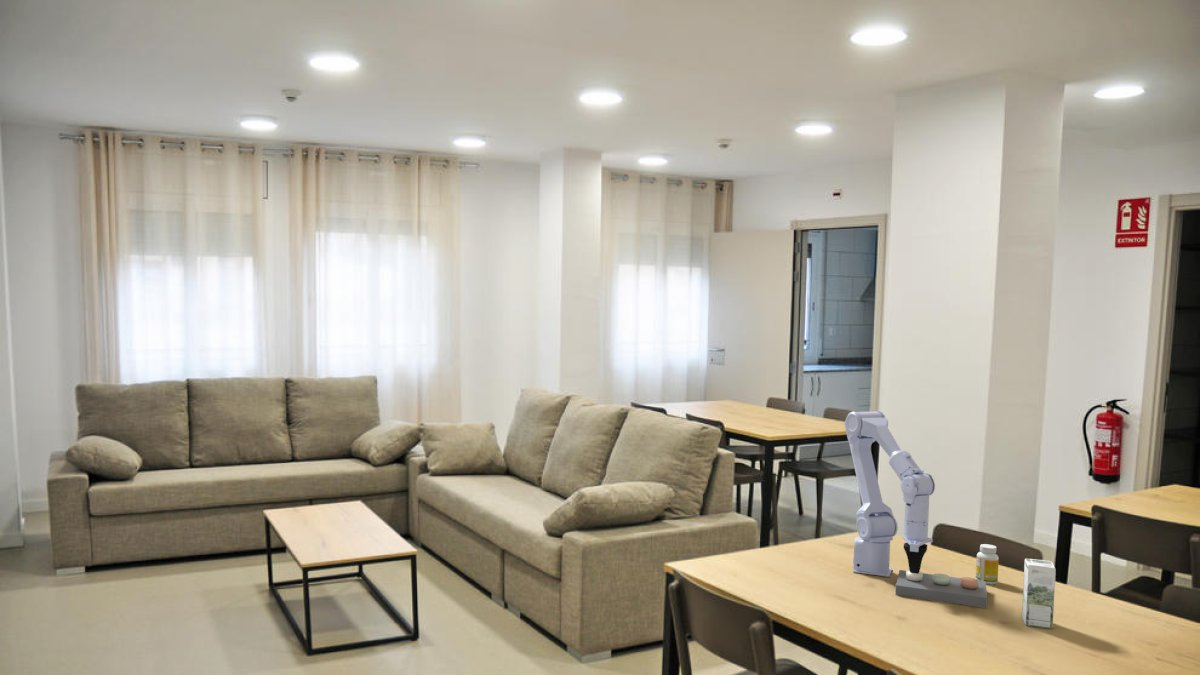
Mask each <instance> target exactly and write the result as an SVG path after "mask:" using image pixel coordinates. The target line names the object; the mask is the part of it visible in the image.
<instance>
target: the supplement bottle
mask: <svg viewBox="0 0 1200 675" xmlns="http://www.w3.org/2000/svg"><path fill="white" fill-rule="evenodd" d="M996 553H997V546H996V545H993V544H987V543H983V544H982V543H981V544H980V546H979V551H978V552H977V554H976V564H975V579H976V580H978V581H985V582H986V585H996V584H998V582H999V581H998V580H999V561H1000V560H999V559H1000V558H999V555H998V554H996Z"/></svg>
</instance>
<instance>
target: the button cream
mask: <svg viewBox="0 0 1200 675" xmlns="http://www.w3.org/2000/svg"><path fill="white" fill-rule="evenodd" d="M905 571H906V578H907V579H909V580H910V581H915V582H918V581H922V579H923V573H924V572H922V571H919V574H917V573H910V570H909V569H907V570H905Z"/></svg>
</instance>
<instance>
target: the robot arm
mask: <svg viewBox="0 0 1200 675" xmlns="http://www.w3.org/2000/svg"><path fill="white" fill-rule="evenodd" d="M843 423H844V429H845V432H846V437H847V441H848V444H849V449H850V452H851V458H852V461H853V466H854V472H855V476H856V480H857V485H858V490H859V494H860V499H861V503H862V505H861V507H860V508H859V509H858V510H857V511H856V513H855V516H856V526H855V527H856V531H857V534H858V536H856V537H855V538H854V545H853V546H854V547H853V557H852V558H853V560H852V561H853V562H852V563H853V567H852V568H853V569H852V572H853V573H859V574H865V575H871V576H872V575H873V576H880V577H887V578H890V576H891V573H892V567H891V566H890V559H891V541H893V538H894V537H895V536H896V535H897V532H898V528H899V527H898V522H897V519H896V518H895V516H894V514H893V510H892V508H891V507H889V506H888V505H887V504H886V503H884V501H883V498H882V494H881V490H880V485H879V480H878V476H877V471H876V468H875V463H874V458H873V454H872V450H871V446H872V444H873V443H875V442H877V443H878V444H879V446H880V447H881V448H882V450H884V452H885V453H886V454H887V456H888V457H889V462H888V463H889V466H891V469H892V470H893V471H894V473H895V474H896V476H897V477H898V479H899V480H900V481H901V482H900V489H901V492H902V496H903V499H902V500H903V502H904V503H905V504H904V505H905V506H904V507H905V508H904V528H903V531H904V532H903V536H902V537H903V538H902V539H903V540H904V544H903V550H904V552H905V554H906V556H907V563H908V570H910V573H917V574H919V571H920V570H921V568H922V567H921V566H922V561H923V560H924V559H923V558H924V556H925V554H926V552H927V551H928V544H927V543H929V544H930V543H933V541H934V540H933V538H931V537H929V514H930V509H929V508H930V496H932V495H933V494H934V492H935V489H936V483H935V479H934V478H933V476H932V475H931V474H930V473H929V472H925V471H924V470H922V469H921V468H920V466H919V465H918V464H917V463H916V462H915V460H914V459H913V457H912V455H911V453H910V452H908V451H906V450H902V449H901V448H900V445H899V444H898V443H897V441H896V439H895V438H894V436H893V434H892V432H891V431H890V429H889V420H888V418H886V416H885V414H884V412H882V411H881V410H875V411H874V410H873V411H850V412H848V414H847V416H846V418H845V420H844V422H843ZM920 572H921V571H920Z"/></svg>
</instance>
